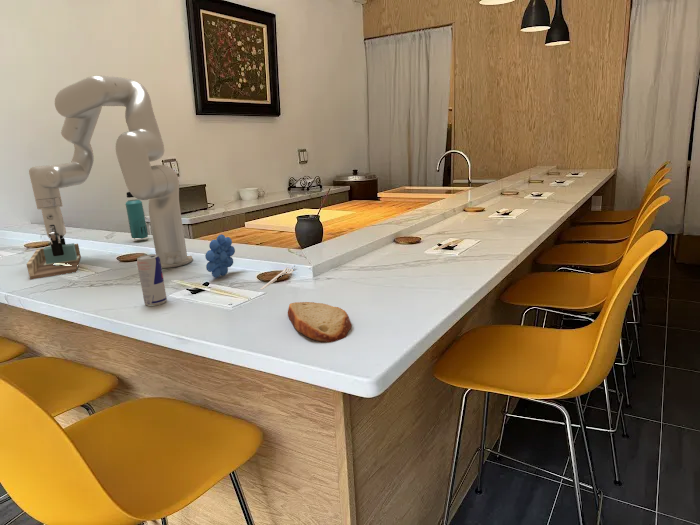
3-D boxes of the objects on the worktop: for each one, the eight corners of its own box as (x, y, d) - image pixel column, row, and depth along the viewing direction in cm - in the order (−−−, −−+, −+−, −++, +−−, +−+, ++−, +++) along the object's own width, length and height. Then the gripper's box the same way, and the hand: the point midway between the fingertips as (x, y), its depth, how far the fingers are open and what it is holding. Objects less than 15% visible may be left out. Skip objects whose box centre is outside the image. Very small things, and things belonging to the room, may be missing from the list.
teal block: (46, 264, 175) (43, 249, 174) (48, 261, 179) (44, 247, 178) (76, 259, 178) (73, 245, 177) (77, 257, 182) (74, 243, 181)
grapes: (225, 269, 157) (220, 230, 154) (242, 270, 154) (237, 231, 151) (197, 280, 148) (191, 239, 144) (216, 282, 144) (210, 240, 141)
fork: (255, 292, 136) (254, 285, 135) (287, 269, 154) (286, 263, 153) (266, 292, 135) (265, 286, 134) (297, 269, 153) (296, 263, 152)
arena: (76, 272, 166) (73, 257, 165) (30, 279, 161) (26, 264, 160) (80, 256, 188) (78, 243, 186) (40, 262, 183) (36, 249, 181)
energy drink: (171, 300, 132) (164, 254, 129) (156, 307, 127) (147, 260, 124) (155, 298, 134) (148, 253, 131) (140, 305, 129) (131, 259, 126)
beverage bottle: (143, 242, 205) (134, 192, 200) (128, 242, 206) (119, 193, 201) (152, 238, 211) (144, 189, 206) (137, 239, 213) (129, 190, 207)
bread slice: (294, 308, 121) (293, 292, 120) (367, 312, 115) (366, 296, 114) (256, 339, 105) (254, 321, 104) (339, 346, 99) (337, 328, 98)
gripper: (59, 204, 167) (70, 256, 172) (64, 199, 182) (74, 246, 187) (32, 207, 164) (44, 259, 169) (39, 201, 180) (50, 249, 184)
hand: (60, 252), depth 178 cm, fingers open, 9 cm apart
